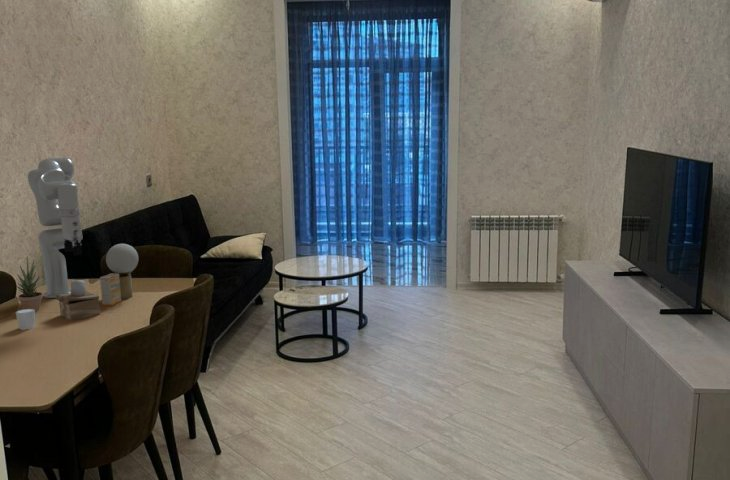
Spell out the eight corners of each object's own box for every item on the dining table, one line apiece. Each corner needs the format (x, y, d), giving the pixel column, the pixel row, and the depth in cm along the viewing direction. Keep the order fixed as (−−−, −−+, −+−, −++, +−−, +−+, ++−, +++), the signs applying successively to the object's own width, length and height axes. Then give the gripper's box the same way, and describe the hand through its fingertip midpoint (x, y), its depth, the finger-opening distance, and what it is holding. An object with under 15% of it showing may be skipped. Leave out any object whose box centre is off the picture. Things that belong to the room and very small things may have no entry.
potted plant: (47, 310, 295) (41, 255, 290) (25, 315, 288) (18, 258, 283) (38, 306, 301) (32, 252, 297) (16, 311, 295) (9, 255, 290)
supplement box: (112, 306, 299) (109, 277, 296) (102, 305, 299) (99, 277, 297) (122, 301, 306) (119, 273, 304) (112, 300, 307) (109, 272, 305)
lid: (56, 299, 285) (56, 294, 285) (87, 296, 294) (87, 291, 294) (67, 304, 276) (67, 299, 276) (98, 301, 285) (98, 296, 285)
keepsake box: (60, 315, 287) (58, 299, 285) (88, 309, 295) (87, 293, 294) (71, 320, 278) (69, 304, 277) (100, 314, 286) (98, 298, 285)
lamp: (141, 291, 323) (137, 240, 318) (141, 298, 310) (137, 245, 305) (107, 294, 318) (102, 242, 314) (106, 302, 305) (101, 248, 301)
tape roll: (68, 294, 285) (68, 280, 284) (82, 293, 289) (82, 279, 288) (74, 297, 281) (73, 282, 280) (87, 295, 285) (87, 281, 284)
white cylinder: (40, 325, 272) (38, 309, 271) (27, 331, 266) (24, 313, 264) (27, 324, 274) (25, 307, 273) (13, 329, 268) (11, 312, 267)
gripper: (86, 214, 275) (90, 255, 279) (70, 209, 287) (74, 248, 291) (68, 216, 270) (72, 258, 273) (52, 211, 282) (56, 251, 286)
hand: (73, 253), depth 282 cm, fingers open, 9 cm apart
